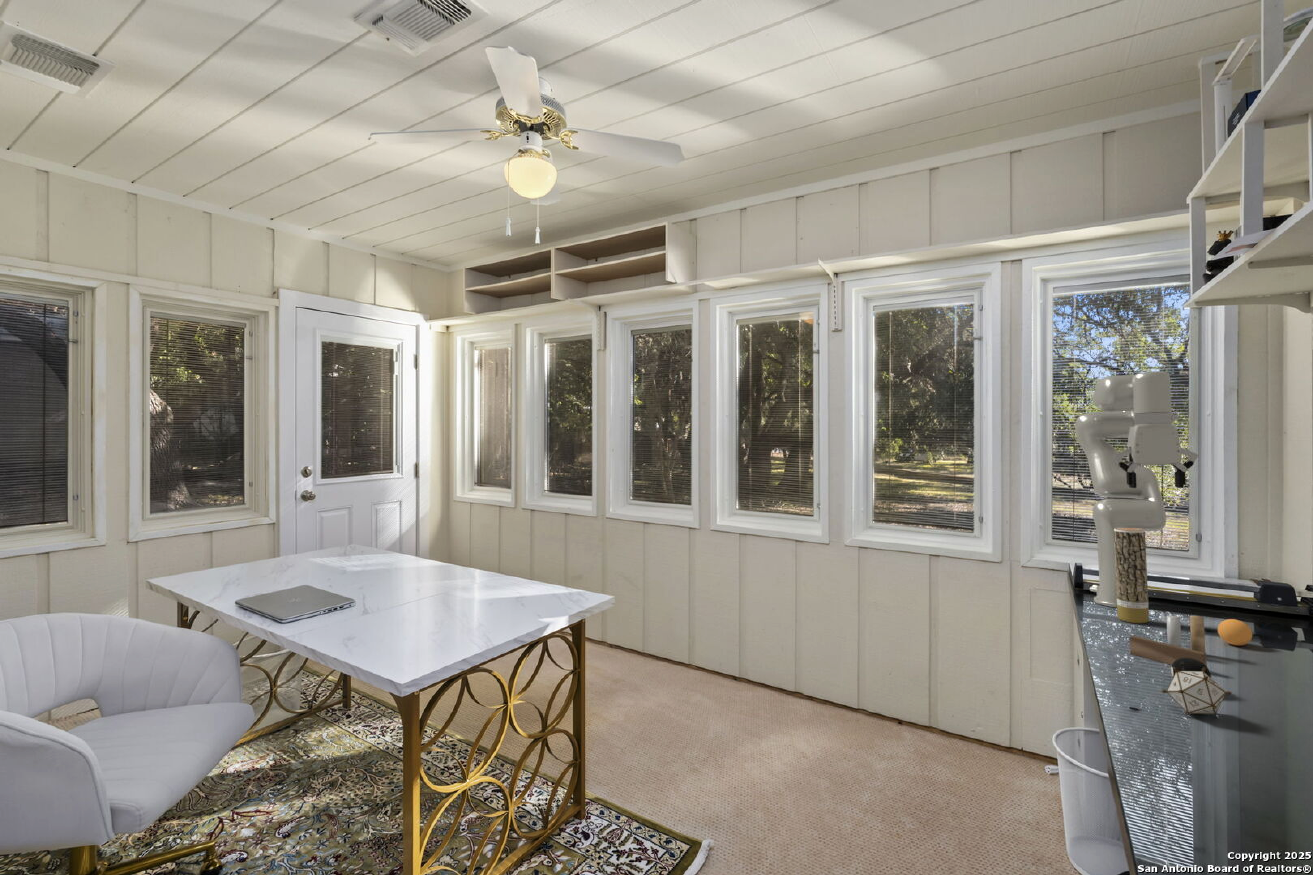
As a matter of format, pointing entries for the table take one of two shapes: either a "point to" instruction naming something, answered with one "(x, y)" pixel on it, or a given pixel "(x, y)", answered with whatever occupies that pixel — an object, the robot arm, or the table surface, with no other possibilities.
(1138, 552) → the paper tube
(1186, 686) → the game die
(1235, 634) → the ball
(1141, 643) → the brown wooden plank
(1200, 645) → the maple pin
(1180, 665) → the billiard ball
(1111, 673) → the table surface
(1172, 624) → the grey pin
